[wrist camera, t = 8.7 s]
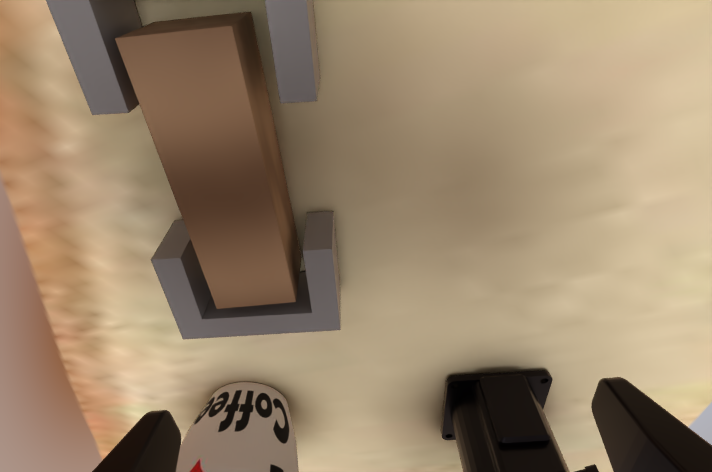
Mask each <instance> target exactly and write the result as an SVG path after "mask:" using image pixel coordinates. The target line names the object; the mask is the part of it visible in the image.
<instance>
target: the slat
mask: <svg viewBox="0 0 712 472" xmlns="http://www.w3.org/2000/svg"><path fill="white" fill-rule="evenodd" d="M115 40H116V43H117V46H118V48H119V51H120V54H121V56H122V59H123V61H124V64H125V67H126V69H127V72H128V75H129V77H130V80H131V83H132V85H133V88H134V91H135V93H136V96H137V99H138V101H139V104H140V107H141V109H142V112H143V114H144V117H145V120H146V122H147V125H148V128H149V130H150V133H151V136H152V138H153V141H154V144H155V146H156V149H157V152H158V154H159V157H160V159H161V162H162V165H163V167H164V170H165V173H166V175H167V178H168V181H169V183H170V186H171V189H172V191H173V194H174V197H175V199H176V202H177V205H178V207H179V210H180V212H181V215H182V218H183V220H184V223H185V226H186V228H187V231H188V234H189V236H190V239H191V242H192V244H193V247H194V250H195V252H196V255H197V257H198V260H199V263H200V265H201V268H202V271H203V273H204V276H205V279H206V281H207V284H208V287H209V289H210V292H211V295H212V297H213V300H214V303H215V305H216V308H217V309H222V308H233V307H245V306H256V305H267V304H279V303H290V302H296V297H297V289H298V281H299V274H300V266H301V258H302V257H301V252H300V247H299V242H298V237H297V232H296V227H295V223H294V218H293V213H292V208H291V203H290V198H289V194H288V189H287V184H286V179H285V174H284V169H283V164H282V160H281V155H280V150H279V145H278V140H277V135H276V130H275V126H274V121H273V116H272V111H271V106H270V101H269V96H268V92H267V87H266V82H265V77H264V72H263V67H262V62H261V58H260V53H259V48H258V43H257V38H256V33H255V28H254V24H253V19H252V14H251V12H243V13H234V14H224V15H215V16H206V17H197V18H187V19H178V20H169V21H160V22H153V23H151V24H149V25H146V26H144V27H141V28H139V29H136V30H134V31H132V32H129V33H127V34H124V35H122V36H119V37H117V38H115Z"/></svg>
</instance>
